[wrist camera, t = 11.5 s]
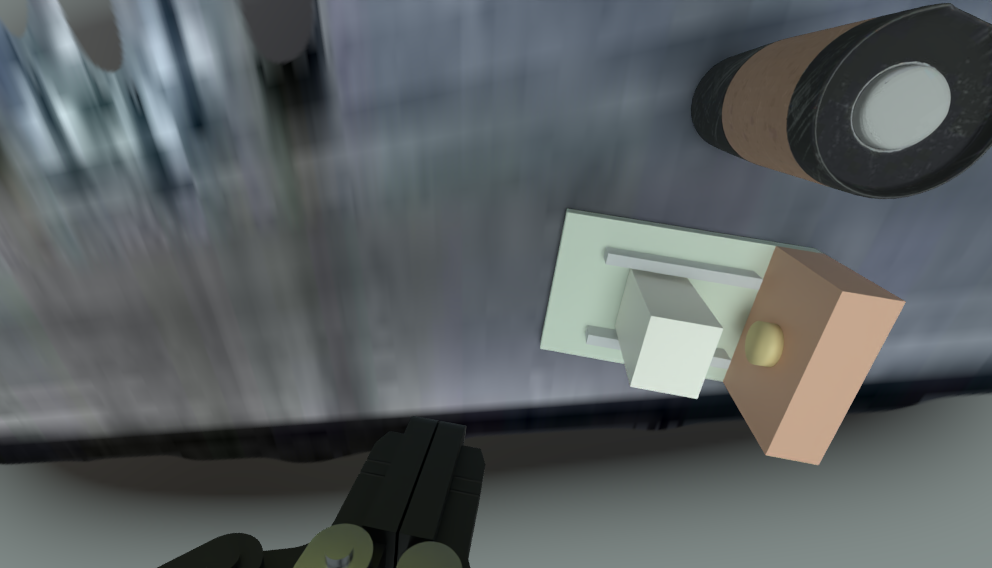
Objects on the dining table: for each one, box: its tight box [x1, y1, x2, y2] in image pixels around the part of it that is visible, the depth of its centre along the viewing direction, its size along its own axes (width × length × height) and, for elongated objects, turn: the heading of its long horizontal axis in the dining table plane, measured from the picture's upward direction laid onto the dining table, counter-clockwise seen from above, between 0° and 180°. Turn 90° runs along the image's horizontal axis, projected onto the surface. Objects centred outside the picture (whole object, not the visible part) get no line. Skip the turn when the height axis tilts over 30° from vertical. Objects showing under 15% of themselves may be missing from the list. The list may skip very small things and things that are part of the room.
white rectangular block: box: [615, 268, 723, 399], centre depth 38 cm, size 5×6×10 cm
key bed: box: [540, 208, 905, 465], centre depth 39 cm, size 22×14×12 cm, turn 82°
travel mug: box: [691, 3, 992, 199], centre depth 28 cm, size 8×8×20 cm
